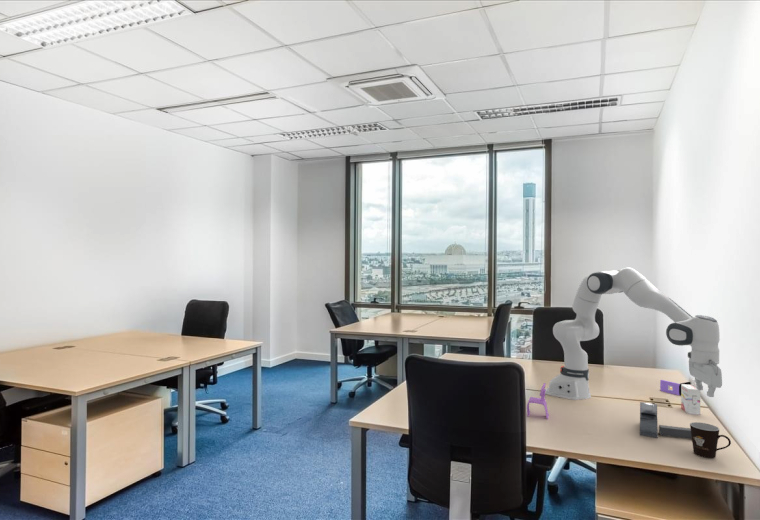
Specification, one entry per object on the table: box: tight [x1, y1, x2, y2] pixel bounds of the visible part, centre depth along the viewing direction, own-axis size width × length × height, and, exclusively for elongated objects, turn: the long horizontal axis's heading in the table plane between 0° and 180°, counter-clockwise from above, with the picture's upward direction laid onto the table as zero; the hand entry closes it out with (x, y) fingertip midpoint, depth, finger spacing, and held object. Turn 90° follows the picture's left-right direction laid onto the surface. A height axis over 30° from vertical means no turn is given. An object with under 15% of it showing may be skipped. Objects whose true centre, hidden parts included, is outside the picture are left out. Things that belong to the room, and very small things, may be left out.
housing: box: [639, 401, 659, 439], centre depth 188 cm, size 6×17×11 cm, turn 150°
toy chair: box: [526, 382, 550, 420], centre depth 204 cm, size 8×9×15 cm
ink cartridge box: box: [680, 378, 701, 416], centre depth 212 cm, size 9×5×15 cm, turn 168°
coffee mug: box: [689, 421, 732, 459], centre depth 162 cm, size 12×9×10 cm
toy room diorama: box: [659, 379, 692, 397], centre depth 242 cm, size 12×12×7 cm
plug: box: [658, 424, 692, 440], centre depth 181 cm, size 16×4×4 cm, turn 70°
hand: (704, 393), depth 179 cm, fingers open, 8 cm apart
